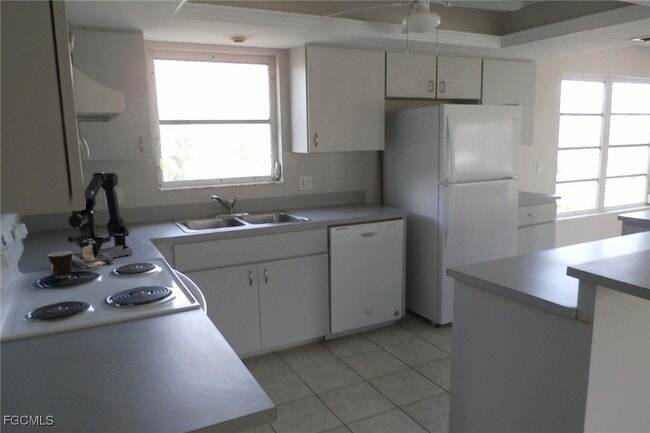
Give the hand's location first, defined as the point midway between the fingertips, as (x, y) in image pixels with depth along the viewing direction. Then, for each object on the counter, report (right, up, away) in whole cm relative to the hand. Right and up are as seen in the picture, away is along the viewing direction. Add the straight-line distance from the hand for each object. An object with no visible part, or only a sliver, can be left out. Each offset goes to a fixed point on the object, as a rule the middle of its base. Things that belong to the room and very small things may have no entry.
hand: (91, 257), depth 215 cm
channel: (+3, -2, +7) cm, 7 cm away
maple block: (0, -1, 0) cm, 1 cm away
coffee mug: (0, -7, -23) cm, 24 cm away
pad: (+3, -3, -3) cm, 5 cm away
